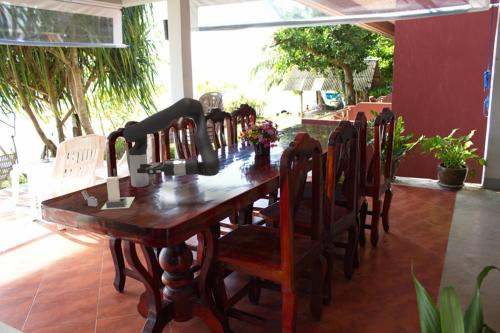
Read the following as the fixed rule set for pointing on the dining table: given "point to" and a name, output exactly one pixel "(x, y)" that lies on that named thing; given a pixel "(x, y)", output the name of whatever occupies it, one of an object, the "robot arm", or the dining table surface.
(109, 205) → the board
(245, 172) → the dining table surface
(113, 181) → the cream rectangular pillar
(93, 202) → the lighter
